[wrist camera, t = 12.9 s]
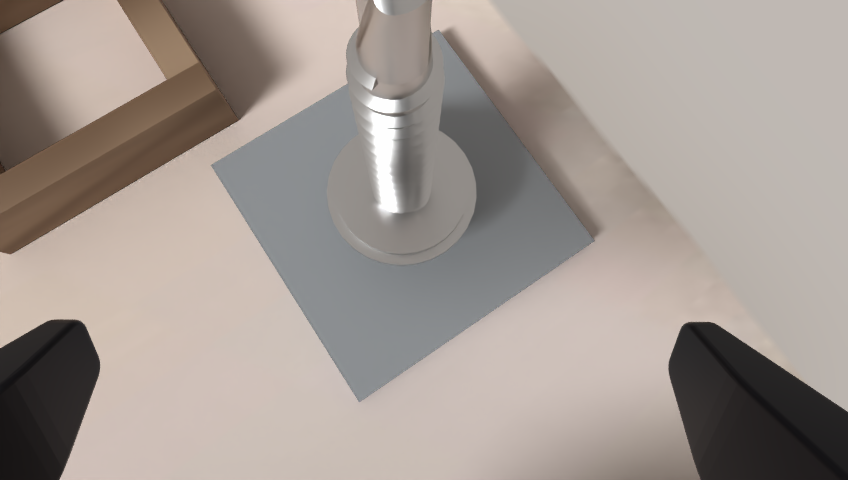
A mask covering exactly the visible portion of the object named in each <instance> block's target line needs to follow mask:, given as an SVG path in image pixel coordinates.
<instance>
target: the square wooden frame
mask: <svg viewBox="0 0 848 480" xmlns="http://www.w3.org/2000/svg"><path fill="white" fill-rule="evenodd" d="M60 1H62V0H0V33H2V32H3V31H5V30H7V29H9V28H11V27H13V26H15V25H17V24H19V23H20V22H22V21H24V20H26V19H28V18H30V17H32V16H34V15H36V14H37V13H39V12H41V11H43V10H45V9H47V8H49V7H51V6H52V5H54V4H56V3H58V2H60ZM117 1H118V2H119V4H120V6H121V7H122V9H123V10H124V12H125V14H126V15H127V17H128V18H129V20H130V22H131V23H132V25H133V26H134V28H135V30H136V31H137V33H138V34H139V36H140V37H141V39H142V41H143V42H144V44H145V45H146V47H147V49H148V50H149V52H150V53H151V55H152V57H153V58H154V60H155V61H156V63H157V64H158V66H159V68H160V69H161V71H162V72H163V74H164V76H165V77H166V79H167V80H166V81H164V82H163V83H161V84H159V85H157V86H156V87H154V88H152V89H150V90H149V91H147V92H145V93H143V94H141V95H140V96H138V97H136V98H134V99H133V100H131V101H129V102H127V103H126V104H124V105H122V106H120V107H118V108H117V109H115V110H113V111H111V112H110V113H108V114H106V115H104V116H103V117H101V118H99V119H97V120H96V121H94V122H92V123H90V124H88V125H87V126H85V127H83V128H81V129H80V130H78V131H76V132H74V133H73V134H71V135H69V136H67V137H65V138H64V139H62V140H60V141H58V142H57V143H55V144H53V145H51V146H50V147H48V148H46V149H44V150H43V151H41V152H39V153H37V154H35V155H34V156H32V157H30V158H28V159H27V160H25V161H23V162H21V163H20V164H18V165H16V166H14V167H13V168H11V169H9V170H7V171H5V170H4V168H3V167H2V165H1V163H0V252H3V253H7V254H12V253H13V252H15V251H17V250H18V249H20V248H22V247H24V246H25V245H27V244H29V243H30V242H32V241H34V240H35V239H37V238H39V237H41V236H42V235H44V234H46V233H47V232H49V231H51V230H52V229H54V228H56V227H58V226H59V225H61V224H63V223H64V222H66V221H68V220H69V219H71V218H73V217H75V216H76V215H78V214H80V213H81V212H83V211H85V210H86V209H88V208H90V207H92V206H93V205H95V204H97V203H98V202H100V201H102V200H103V199H105V198H107V197H109V196H110V195H112V194H114V193H115V192H117V191H119V190H120V189H122V188H124V187H126V186H127V185H129V184H131V183H132V182H134V181H136V180H138V179H139V178H141V177H143V176H144V175H146V174H148V173H149V172H151V171H153V170H155V169H156V168H158V167H160V166H161V165H163V164H165V163H166V162H168V161H170V160H172V159H173V158H175V157H177V156H178V155H180V154H182V153H183V152H185V151H187V150H189V149H190V148H192V147H194V146H195V145H197V144H199V143H200V142H202V141H204V140H206V139H207V138H209V137H211V136H212V135H214V134H216V133H217V132H219V131H221V130H223V129H224V128H226V127H228V126H229V125H231V124H233V123H234V122H236V121H238V118H237V116H236V115H235V113H234V112H233V110H232V109H231V107H230V106H229V104H228V102H227V101H226V99H225V98H224V96H223V95H222V93H221V92H220V90H219V89H218V87H217V85H216V84H215V82H214V81H213V79H212V78H211V76H210V75H209V73H208V71H207V70H206V68H205V67H204V65H203V64H202V62H201V61H200V59H199V58H198V56H197V54H196V53H195V51H194V50H193V48H192V47H191V45H190V44H189V42H188V41H187V39H186V37H185V36H184V34H183V33H182V31H181V30H180V28H179V27H178V25H177V23H176V22H175V20H174V19H173V17H172V16H171V14H170V13H169V11H168V10H167V8H166V6H165V5H164V3H163V2H162V0H117Z"/></svg>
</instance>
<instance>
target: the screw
mask: <svg viewBox="0 0 848 480" xmlns="http://www.w3.org/2000/svg"><path fill="white" fill-rule="evenodd" d="M356 6H357V12H358V19H359V28H357V29H356V31H355V32H354V33H353V35H352V36H351V38H350V40H349V42H348V45H347V50H346V58H347V68H346V76H347V81H348V85H349V86H348V88H349V96H350V100H351V102H352V108H353V112H354V115H355V121H356V124H357V129H358V133H359V134H358V135H357V136H355V137H354V138H353V139H352V140H351V141H350V142H349V143H348V144H347V145H346V146H345V147H344V148H343V149H342V150H341V152H340V153H339V155H338V156H337V158H336V159H335V161H334V163H333V166H332V169H331V171H330V174H329V178H328V186H327V200H328V208H329V211H330V214H331V217H332V220H333V223H334V224H335V226H336V228H337V229H338V231H339V233H340V234H341V236H342V237H343V239H344V240H345V241H346V242H347V243H348V244H349V245H350V246H351V247H352V248H353V249H354V250H356V251H357V252H359V253H360V254H362V255H363V256H365V257H366V258H368V259H371V260H373V261H376V262H379V263H381V264H386V265H393V266H411V265H418V264H421V263H424V262H428V261H431V260H433V259H435V258H437V257H438V256H440V255H442V254H444V253H446V252H447V251H448V250H449V249H450V248H451V247H452V246H454V245H455V244H456V243H457V242H458V240H459V239H460V238H461V236H462V235H463V234H464V232H465V231H466V229H467V227H468V225H469V223H470V220H471V218H472V216H473V213H474V209H475V203H476V198H477V197H476V181H475V177H474V173H473V170H472V167H471V165H470V163H469V161H468V159H467V157H466V155H465V153H464V152H463V151H462V150H461V149H460V147H459V146H458V145H457V144H456V143H455V142H454V141H453V140H452V139H451V138H449V137H448V136H447V135H445V134H444V133H443V132H441V131H439V124H440V115H441V105H442V101H443V90H444V85H445V75H444V69H443V66H444V63H443V55H442V50H441V48H440V45H439V43H438V41H437V40H436V38H435V37H434V35H433V34H432V32H431V7H432V0H356Z"/></svg>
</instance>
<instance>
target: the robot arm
mask: <svg viewBox="0 0 848 480" xmlns="http://www.w3.org/2000/svg"><path fill="white" fill-rule="evenodd" d="M99 372H100V360H99V357H98V354H97V352H96V350H95V347H94V345H93V342H92V340H91V338H90V335H89V333H88V331H87V328H86V326H85V325H84V324H83V323H82V322H81V321H79V320H50V321H47V322H45V323H43V324H42V325H40V326H38V327H37V328H35V329H33V330H31V331H30V332H28V333H26V334H24V335H23V336H21V337H19V338H17V339H16V340H14V341H12V342H10V343H9V344H7V345H5V346H4V347H2V348H0V480H59V479H60V477H61V475H62V473H63V471H64V468H65V466H66V463H67V461H68V458H69V456H70V453H71V451H72V448H73V445H74V442H75V440H76V437H77V434H78V431H79V429H80V426H81V423H82V420H83V418H84V415H85V412H86V409H87V407H88V404H89V401H90V398H91V396H92V393H93V390H94V387H95V385H96V382H97V379H98V376H99ZM669 376H670V380H671V383H672V387H673V390H674V394H675V397H676V401H677V404H678V407H679V411H680V414H681V418H682V421H683V425H684V428H685V432H686V435H687V439H688V442H689V446H690V449H691V453H692V456H693V459H694V462H695V465H696V468H697V471H698V474H699V476H700V479H701V480H848V412H847V411H846V410H844V409H843V408H841V407H839V406H838V405H837V404H835V403H834V402H832V401H831V400H829V399H828V398H826V397H825V396H823V395H822V394H820V393H819V392H817V391H816V390H814V389H813V388H811V387H810V386H808V385H807V384H805V383H804V382H802V381H801V380H799V379H798V378H796V377H795V376H793V375H792V374H790V373H789V372H787V371H786V370H784V369H783V368H781V367H780V366H778V365H777V364H775V363H774V362H772V361H771V360H769V359H768V358H766V357H765V356H763V355H762V354H760V353H759V352H757V351H756V350H754V349H753V348H751V347H750V346H748V345H747V344H745V343H744V342H742V341H741V340H739V339H738V338H736V337H735V336H733V335H732V334H730V333H729V332H727V331H726V330H724V329H723V328H721V327H720V326H718V325H717V324H715V323H711V322H688V323H685V324H684V325H683V326H682V328H681V330H680V332H679V335H678V338H677V340H676V343H675V346H674V349H673V351H672V354H671V357H670V360H669Z"/></svg>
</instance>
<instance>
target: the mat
mask: <svg viewBox="0 0 848 480" xmlns="http://www.w3.org/2000/svg"><path fill="white" fill-rule="evenodd" d="M432 34H433V35H434V37H435V38H436V40H437V41H438V43H439V45H440V48H441V50H442V55H443V63H444V66H443V69H444V75H445V85H444V90H443V101H442V105H441V115H440V124H439V131H441V132H443V133H444V134H445V135H447V136H448V137H449V138H451V139H452V140H453V141H454V142H455V143H456V144H457V145H458V146H459V147H460V149H461V150H462V151H463V152H464V153H465V155H466V157H467V159H468V161H469V163H470V165H471V167H472V170H473V173H474V177H475V181H476V197H477V198H476V203H475V209H474V213H473V216H472V218H471V220H470V223H469V225H468V227H467V229H466V231H465V232H464V234H463V235H462V236H461V238H460V239H459V240H458V242H457V243H456V244H455V245H454V246H452V247H451V248H450V249H449V250H448V251H447V252H446V253H444V254H442V255H440V256H438V257H437V258H435V259H433V260H431V261H428V262H424V263H421V264H418V265H411V266H393V265H386V264H381V263H379V262H376V261H373V260H371V259H368V258H366V257H365V256H363V255H362V254H360V253H359V252H357V251H356V250H354V249H353V248H352V247H351V246H350V245H349V244H348V243H347V242H346V241H345V240H344V239H343V237H342V236H341V234H340V233H339V231H338V229H337V228H336V226H335V224H334V223H333V220H332V217H331V214H330V211H329V208H328V200H327V186H328V178H329V174H330V171H331V169H332V166H333V163H334V161H335V159H336V158H337V156H338V155H339V153H340V152H341V150H342V149H343V148H344V147H345V146H346V145H347V144H348V143H349V142H350V141H351V140H352V139H353V138H354V137H355V136H357V135H358V134H359V133H358V129H357V124H356V121H355V115H354V112H353V108H352V102H351V100H350V96H349V88H348V86H349V85H348V84H347V85H345V86H343V87H341V88H340V89H338V90H336V91H335V92H333V93H331V94H330V95H328V96H326V97H325V98H323V99H321V100H320V101H318V102H316V103H315V104H313V105H311V106H310V107H308V108H306V109H305V110H303V111H301V112H299V113H298V114H296V115H294V116H293V117H291V118H289V119H288V120H286V121H284V122H283V123H281V124H279V125H278V126H276V127H274V128H273V129H271V130H269V131H268V132H266V133H264V134H263V135H261V136H259V137H258V138H256V139H254V140H252V141H251V142H249V143H247V144H246V145H244V146H242V147H241V148H239V149H237V150H236V151H234V152H232V153H231V154H229V155H227V156H226V157H224V158H222V159H221V160H219V161H217V162H216V163H214V164H212V165H211V166H212V168H213V169H214V171H215V173H216V174H217V176H218V177H219V179H220V180H221V182H222V184H223V185H224V187H225V188H226V190H227V192H228V193H229V195H230V196H231V198H232V200H233V201H234V203H235V204H236V206H237V208H238V209H239V211H240V212H241V214H242V216H243V217H244V219H245V220H246V222H247V224H248V225H249V227H250V228H251V230H252V232H253V233H254V235H255V236H256V238H257V240H258V241H259V243H260V244H261V246H262V248H263V249H264V251H265V252H266V254H267V256H268V257H269V259H270V260H271V262H272V264H273V265H274V267H275V268H276V270H277V272H278V273H279V275H280V276H281V278H282V280H283V281H284V283H285V284H286V286H287V288H288V289H289V291H290V292H291V294H292V296H293V297H294V299H295V300H296V302H297V304H298V305H299V307H300V308H301V310H302V312H303V313H304V315H305V316H306V318H307V320H308V321H309V323H310V324H311V326H312V328H313V329H314V331H315V332H316V334H317V336H318V337H319V339H320V340H321V342H322V344H323V345H324V347H325V348H326V350H327V352H328V353H329V355H330V356H331V358H332V360H333V361H334V363H335V364H336V366H337V368H338V369H339V371H340V372H341V374H342V376H343V377H344V379H345V380H346V382H347V384H348V385H349V387H350V388H351V390H352V392H353V393H354V395H355V396H356V398H357V400H358V401H359V402H360V401H362V400H363V399H365V398H366V397H368V396H369V395H371V394H372V393H373V392H375V391H376V390H378V389H379V388H381V387H382V386H384V385H385V384H387V383H388V382H389V381H391V380H392V379H394V378H395V377H397V376H398V375H400V374H401V373H403V372H404V371H406V370H407V369H408V368H410V367H411V366H413V365H414V364H416V363H417V362H419V361H420V360H422V359H423V358H424V357H426V356H427V355H429V354H430V353H432V352H433V351H435V350H436V349H438V348H439V347H441V346H442V345H443V344H445V343H446V342H448V341H449V340H451V339H452V338H454V337H455V336H457V335H458V334H459V333H461V332H462V331H464V330H465V329H467V328H468V327H470V326H471V325H473V324H474V323H476V322H477V321H478V320H480V319H481V318H483V317H484V316H486V315H487V314H489V313H490V312H492V311H493V310H494V309H496V308H497V307H499V306H500V305H502V304H503V303H505V302H506V301H508V300H509V299H510V298H512V297H513V296H515V295H516V294H518V293H519V292H521V291H522V290H524V289H525V288H527V287H528V286H529V285H531V284H532V283H534V282H535V281H537V280H538V279H540V278H541V277H543V276H544V275H545V274H547V273H548V272H550V271H551V270H553V269H554V268H556V267H557V266H559V265H560V264H562V263H563V262H564V261H566V260H567V259H569V258H570V257H572V256H573V255H575V254H576V253H578V252H579V251H580V250H582V249H583V248H585V247H586V246H588V245H589V244H591V243H592V242H594V239H593V238H592V237H591V235H590V234H589V233H588V231H587V230H586V229H585V227H584V226H583V225H582V223H581V222H580V220H579V219H578V218H577V216H576V215H575V214H574V212H573V211H572V210H571V208H570V207H569V206H568V204H567V203H566V202H565V200H564V199H563V197H562V196H561V195H560V193H559V192H558V191H557V189H556V188H555V187H554V185H553V184H552V183H551V181H550V180H549V179H548V177H547V176H546V174H545V173H544V172H543V170H542V169H541V168H540V166H539V165H538V164H537V162H536V161H535V160H534V158H533V157H532V156H531V154H530V153H529V151H528V150H527V149H526V147H525V146H524V145H523V143H522V142H521V141H520V139H519V138H518V137H517V135H516V134H515V133H514V131H513V130H512V128H511V127H510V126H509V124H508V123H507V122H506V120H505V119H504V118H503V116H502V115H501V114H500V112H499V111H498V110H497V108H496V107H495V105H494V104H493V103H492V101H491V100H490V99H489V97H488V96H487V95H486V93H485V92H484V91H483V89H482V88H481V87H480V85H479V84H478V82H477V81H476V80H475V78H474V77H473V76H472V74H471V73H470V72H469V70H468V69H467V68H466V66H465V65H464V64H463V62H462V61H461V59H460V58H459V57H458V55H457V54H456V53H455V51H454V50H453V49H452V47H451V46H450V45H449V43H448V42H447V41H446V39H445V38H444V36H443V35H442V34H441V32H440V31H439V30H437V31H436V32H434V33H432Z"/></svg>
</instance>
